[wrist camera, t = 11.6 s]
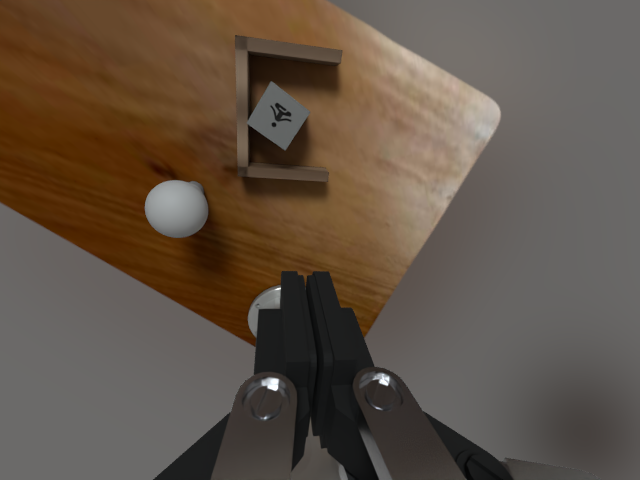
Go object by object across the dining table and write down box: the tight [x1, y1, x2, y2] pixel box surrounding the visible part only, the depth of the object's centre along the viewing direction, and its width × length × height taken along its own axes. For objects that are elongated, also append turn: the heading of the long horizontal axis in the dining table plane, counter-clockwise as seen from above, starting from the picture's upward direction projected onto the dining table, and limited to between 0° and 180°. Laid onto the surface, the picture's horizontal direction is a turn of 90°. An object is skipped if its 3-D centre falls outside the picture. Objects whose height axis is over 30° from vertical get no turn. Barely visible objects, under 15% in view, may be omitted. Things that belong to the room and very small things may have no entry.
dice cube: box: [247, 81, 310, 150], centre depth 34 cm, size 5×5×5 cm
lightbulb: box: [145, 180, 208, 238], centre depth 34 cm, size 6×6×11 cm
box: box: [235, 35, 342, 182], centre depth 35 cm, size 14×11×3 cm
